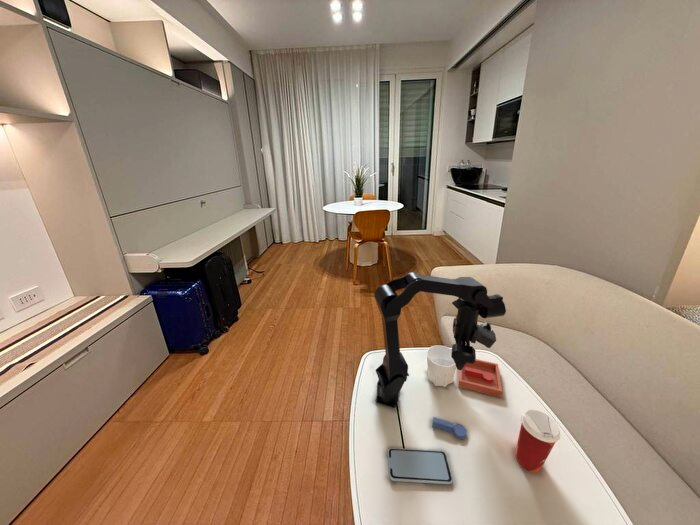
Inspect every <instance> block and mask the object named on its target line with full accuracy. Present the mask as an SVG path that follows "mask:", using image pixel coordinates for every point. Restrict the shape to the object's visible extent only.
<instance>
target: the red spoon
mask: <svg viewBox="0 0 700 525" xmlns="http://www.w3.org/2000/svg"><path fill="white" fill-rule="evenodd" d="M465 375H468V376H472V377H476V378H480V379H483V380H484V381H485V382H488V383H491V382H493V379H494V377H493V375H492V374H491V373H488V372H483V371H481V370H477V369H473V368H468V367H465Z"/></svg>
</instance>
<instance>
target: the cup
mask: <svg viewBox="0 0 700 525" xmlns="http://www.w3.org/2000/svg"><path fill="white" fill-rule="evenodd" d="M451 354H452V347H451V348H450V347H448V346H446V345H441V344H437V345H431V346H430V347H429V348H427V350H426V363H427V370H426V371H427V380H428V381H430V382H431V383H432V384H433V385H434V386H435V387H437V386H439V387H443V388H446V387H447V386H448V385H449V384H452V383H453V380H454V377H455V373H456V370H457V367H456V364H455V362H454V360H453V358H452V357H451Z"/></svg>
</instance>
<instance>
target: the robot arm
mask: <svg viewBox="0 0 700 525" xmlns="http://www.w3.org/2000/svg"><path fill="white" fill-rule="evenodd" d="M402 289H403V290H402ZM400 290H402V292H401V293H400V294H398V293H397V291H400ZM418 293H429V294H436V295H444V296H451V297H456V298H457V299H455V300H453V301H452V303H451V304H452V305H453V306H454V307H455V308H456V309H457V312H456V313H457V314H456V315H455V318H453V322H452V334H453V338H454V341H455V343H453V344H452V345H451V349H452V354H451V357H452V358H453V360H454V362H455V364H456V370H458V371H459V370H462V368H463V367H464V365H465V364H466V363H467V362H468V363H472V364H473V363H475V359H477V355H476V354H477V353H476V349H475V348H474V347H473V346H471V344H476V342H477V343H479V344H481V345H482V346H484V347H486V348H487V349H491V348H492V346H493V345H494V344H495V343H496V342H497V337H496V336H497V335H496V333H495V331H494V330H493V329H492V324H491V322H490V323H489V322H487V321H485V322H483V323H481V324H478V319H479V317H480V318H482V319H491V318H501V317H504V316H505V315H506V312H507V309H506V305H505V304H506V303H505V302H504V301H503V300H504V297H503V296H502V295H501V294H499V293H498V294H497V293H495V294H492V295H488V289H487V287H486V286H485V285H483V284H482V283H481V282H479V281H478V280H476V279H475V278H473V277H471V276H459V277H457V278H447V277H440V276H433V275H427V274H421V273H416V272H412V271H411V272H408V273H406V274H405V275H403V276H401V277H396V278H394V279H391V280H389V281H388V282H386V283H385V284H382V285H380V286H378V287H377V288H376V289H375V290H374V293H373V295H374V299H375V302H376V306H377V308H378V311H379V312H380V316H381V324H382V332H383V342H384V350H385V351H384V352H385V354H384V355H383V358H382V363H381V364H380V365H379V366H378V367H376V369H375V373H376V376H377V378H378V380H377V383H376V397H375V400H374V401H375V403H376V404H380V405H383V406H386V407H390V408H392V409H395V408H397V403H399V400H400V397H401V390H402V388H403V386H404V385H405V382H407V380H408V377H410V375H409V364H408V363H407V361H406V359H405V357H404V355H403V353H402V352H401V348H400V335H399V322H398V320H399V318H400V316H401V314H402V309H403V308H404V307H405V306H408V304H409V303H410V302H411V301H412V300H413V298H414V297H415V295H417V294H418Z"/></svg>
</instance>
